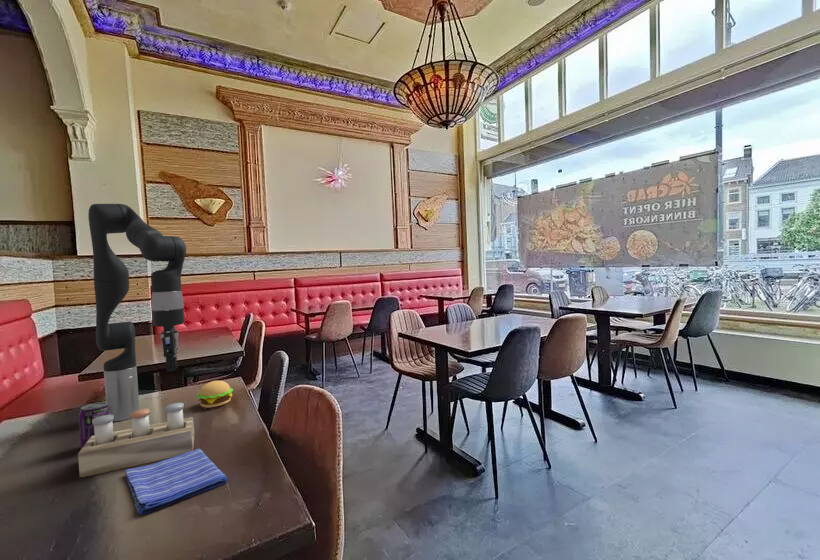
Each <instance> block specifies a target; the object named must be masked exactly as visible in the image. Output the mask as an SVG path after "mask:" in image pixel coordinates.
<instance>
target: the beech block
mask: <svg viewBox="0 0 820 560" xmlns="http://www.w3.org/2000/svg"><path fill="white" fill-rule="evenodd" d="M183 421H184V428H181V429H176V430H171V431H168V422H167V421H165V422H157V423H153V424H149V425H150V435H146V436H141V437H136V438H133V430H132V428H128V429H123V430H118V431H117V430H116V431H113V434H114V442H111V443H106V444H101V445H96V446H95V436H91V438H90V439H89V440H88V441H87V443H86V444H85V445H84V447H83V448H82V449H81V448H80V450H79V452H78V453H77V457H78V470H79V472H78V473H79V478H80V477H82V478H87V477H90V476H91V477H92V476H95V475H100V474H104V473H108V472H113V471H117V470H121V469H125V468H130V467H131V468H132V467H135V466H139V465H144V464H149V463H152V462H153V463H154V462H157V461H158V462H159V461H163V460H166V459H169V458H172V457H175V456H178V455H181V454H184V453H187V452H190V451H193V450H194V445H195V444H194V443H195V426H194V425H195V421H194V417H193V416H191V417H184V418H183ZM86 476H87V477H86Z"/></svg>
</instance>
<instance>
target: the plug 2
mask: <svg viewBox="0 0 820 560" xmlns="http://www.w3.org/2000/svg"><path fill="white" fill-rule="evenodd" d="M184 407H185V406H184V402H175V403H169V404H168V405H166V406H165V407H164V409H165V412H166V420H167V421H166V422H168V431H171V430H176V429H181V428H184V421H183V419H184V411H183V410H184Z"/></svg>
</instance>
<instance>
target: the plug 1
mask: <svg viewBox="0 0 820 560" xmlns="http://www.w3.org/2000/svg"><path fill="white" fill-rule="evenodd" d="M113 420H114V415H104V416H100V417H97V418H94V419H93V420H92V424H93V425H94V431H95V446H96V445H101V444H106V443H111V442H114V434H113V432H114V423H113V422H114V421H113Z"/></svg>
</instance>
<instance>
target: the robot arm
mask: <svg viewBox="0 0 820 560" xmlns="http://www.w3.org/2000/svg"><path fill="white" fill-rule="evenodd" d="M87 217H88V225H89V232H90V238H91V239H90V240H91V246H92V258H93V259H92V260H93V285H94V286H93V287H94V297H95V307H96V308H95V310H96V311H95V313H96V315H95V316H96V317H95V318H96V319H95V342H96V346H97V348H98V350H99V351H101V352H103V351H104V352H106V351H114V350H121V349H123V351H122V352H121V353H119V355H117V356H115V357H112V358H111V359H108V360H106V361H105V362H104V363H103V379H104V380H103V381H104V392H105V402H108V406H109V407H110V412H111V415H114V420H113V422H119V421H125V420H129V419H131V418H130V413H131V412H133V411H135V410H139V409H140V398H139V397H140V396H139V383H138V372H137V370H138V369H137V368H138V367H137V355H136V354H137V353H136V327H135V325H134V323H133V322H132V321H121V322H112V323H109V322H110V319H111V317H112V315H113V313H114V311H115V310H116V308H118V306H119V305H120V304H121V303H122V301H123V300H124V299H125V297H126V296H127V294H128V292H129V290H130V274H129V273H130V272H129V269H128V268H127V266H126V265H125V263H124V262H123V261H122V260H121V259H120V258H119V257H118V255H116V253H115V252H114V250H113V249H112V248H111V247H110V245H109V242H108V239H107V238H108V235H109V234H110V235H111V234H123V233H124V234H125V235H126V238H127V240H128V242H130V243H131V245H133V246H134V247H136V248H137V249H139V251H140V253H141V256H142V257H143V258H144V259H145V260H147V261H150V262H167V265H166V267H165V268H164V269H159V270H154V271H152V273H151V274H150V282H151V284H150V285H151V287H150V288H151V299H150V300H151V316H152V317H151V318H152V326H154V327H157V328H158V327H162V328H163V331H162V332H161V333H160V339H161V348H162V351H163V357H164V359H165V366H166V372H167V373H168V372H175V371H176V370H177V368H178V357H177V355H178V346H179V335H180V334H179V330H176V326H177V325H179V326H180V325H183V324H184V323H185V322H186V321H185V320H186V319H185V308H184V307H185V305H184V296H183V292H182V291H183V290H182V272H183V267H184V263H185V258H186V255H187V246H186V243H185V241H184V240H183V238H180V237H179V236H175V235H174V236H171V235H164V234H163V233H162V232H161V231H159V230H158V229H156V228H155V227H153V226H151V225H150V224H147V222H145V221H144V220H143V219H142V218H141V216H139V215H138V213H137V212H136V211H134V209H133V208H132V207H130V206H128V205H127V204H123V203H93V204H91V205H90V206H89V208H88V215H87Z"/></svg>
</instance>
